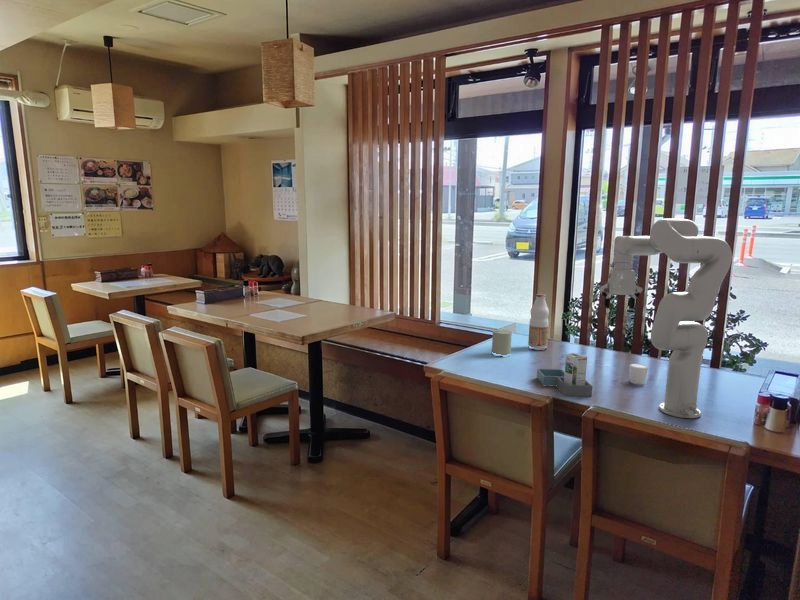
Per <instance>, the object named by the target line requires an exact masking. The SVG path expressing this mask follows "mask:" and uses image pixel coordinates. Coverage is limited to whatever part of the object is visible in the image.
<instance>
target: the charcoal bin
mask: <svg viewBox="0 0 800 600" xmlns="http://www.w3.org/2000/svg"><path fill="white" fill-rule="evenodd" d="M557 387H558V388H559V389H560V390H559V389H558V388H557ZM556 388H557V389H558V390H559V392H560V393H561V394H562V393H563V394H564V395H565V396H564V395H563V396H564V397H592V396H593V395H592V394H593V385H592V384H591V383H589V382H588V381H587V380H586V379H585V386H579V385H566V384H565V383H564V377H557V386H556Z"/></svg>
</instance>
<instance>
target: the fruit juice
mask: <svg viewBox="0 0 800 600" xmlns="http://www.w3.org/2000/svg"><path fill="white" fill-rule="evenodd" d="M546 297H547V295H546V294H545V293H536V294H535V300H534V303H533V305H532V307H531V308H530V319H529V328H528V343H527V344H528V345H529V346H531V347H535V348H547V349H548V345H549V344H548V342H549V327H550V326H549V325H550V324H549V323H550V322H549V315H550V310H549V309H550V308H549V307H548V304H547V301H546ZM528 345H527V346H528Z"/></svg>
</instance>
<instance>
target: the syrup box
mask: <svg viewBox="0 0 800 600" xmlns="http://www.w3.org/2000/svg"><path fill="white" fill-rule="evenodd" d="M564 364H565V365H564V372H565V374H564V383H565V384H566V385H579V386H585V380H586V376H587V366H588V356H587V355H583V354H579V353H577V352H570V353H567V354H565V363H564Z"/></svg>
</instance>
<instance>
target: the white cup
mask: <svg viewBox="0 0 800 600" xmlns="http://www.w3.org/2000/svg"><path fill="white" fill-rule="evenodd" d="M628 368H629V383H631V384H634V385H639V386H640V385H645V383H646V379H647V375H648V368H649V367H648V365H646V364H642V363H629V367H628Z"/></svg>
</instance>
